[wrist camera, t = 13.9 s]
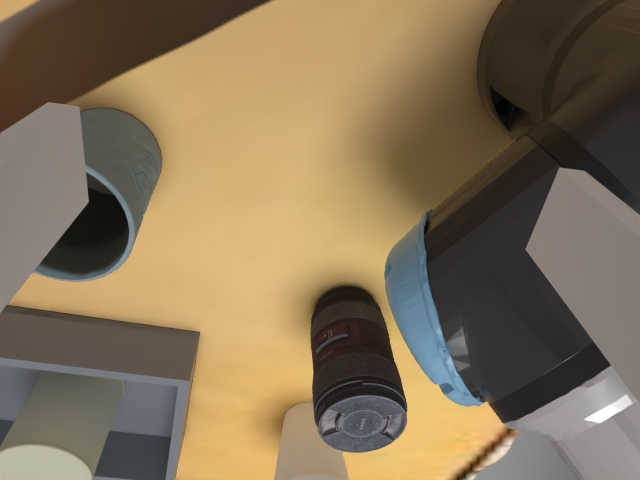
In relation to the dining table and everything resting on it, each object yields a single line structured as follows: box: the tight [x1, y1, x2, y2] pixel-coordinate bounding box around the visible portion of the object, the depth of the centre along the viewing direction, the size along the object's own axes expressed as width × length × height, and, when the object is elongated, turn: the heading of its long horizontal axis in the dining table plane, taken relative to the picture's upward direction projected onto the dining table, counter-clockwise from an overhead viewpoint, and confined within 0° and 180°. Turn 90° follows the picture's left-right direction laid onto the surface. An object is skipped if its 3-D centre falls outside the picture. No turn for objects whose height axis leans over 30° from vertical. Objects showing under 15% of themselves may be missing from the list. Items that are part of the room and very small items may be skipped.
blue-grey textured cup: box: [33, 108, 162, 282], centre depth 39 cm, size 10×10×12 cm
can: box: [0, 370, 125, 480], centre depth 52 cm, size 9×9×12 cm
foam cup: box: [274, 402, 349, 480], centre depth 58 cm, size 10×9×13 cm
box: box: [0, 305, 200, 480], centre depth 55 cm, size 24×18×7 cm
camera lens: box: [311, 287, 407, 453], centre depth 48 cm, size 8×8×15 cm
